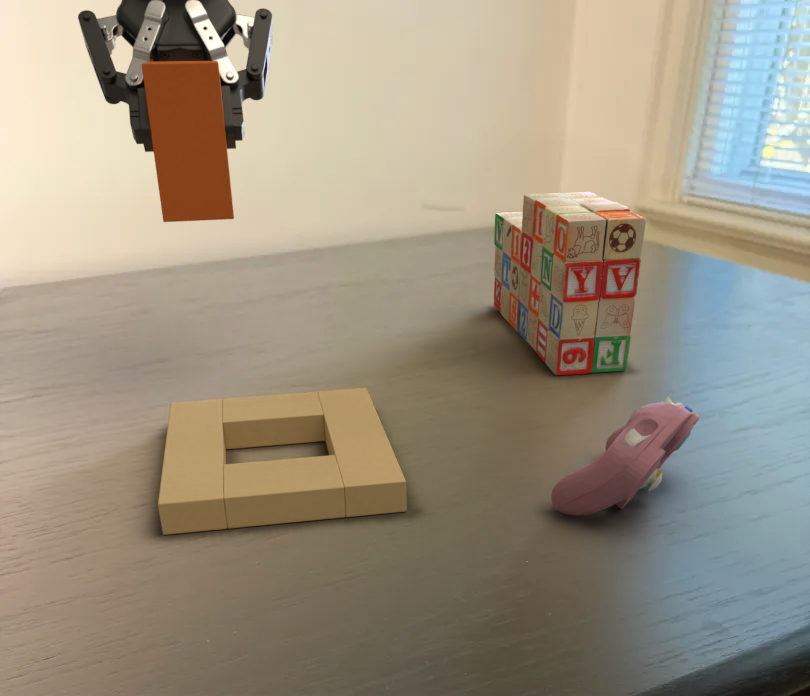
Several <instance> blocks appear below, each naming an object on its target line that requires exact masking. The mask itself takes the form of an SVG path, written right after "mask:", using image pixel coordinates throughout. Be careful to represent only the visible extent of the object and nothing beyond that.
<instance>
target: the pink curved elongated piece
mask: <svg viewBox="0 0 810 696" xmlns="http://www.w3.org/2000/svg"><path fill="white" fill-rule="evenodd" d="M699 419H700V415H698V414H697V413H696V412H694V410H693V409H692V408H691V407H689V406H688V405H686V406H685V405H684V404H683V402H676V403H674V402H673V401H672V400H671V398H670V396H669V395H668V396H667V397H666V398H665V400H664V401H659V402H655V403H648V404H646V405H644V406H641V407H639V408H638V409H635V411H633V412H632V413H631V415H630V416H629V418H628V420H627V421H626V424H625V425H623V426H620V427H619V428H617V429H616V430H614V431H613V432H612V433H611V435H610V436H608V438H607V440H606V443H605V451H604V452H603V453H602V454H601V455H599V456H598V457H596V458H595V459H594V460H592V461H591V462H589V463H587V464H586V465H584V466H582V467H580V468H578V469H576V470H574V471H572V472H571V473H568V474H566V475H564V476H563V477H561V478H560V479H559V480H558V481H557V482H556V483H555V484H554V486H553V488H552V490H551V494H550V497H551V498H550V499H551V503H552V505H553V507H554V509H555V510H556V511H558V512H560V513H561V514H565V515H569V516H587V515H591V514H595V513H598V512H600V511H604V510H606V509H608V508H610V507H612V506H614V505H616V507H618V508H619V509H621V510H623V509H624V508H625V507H626V505H628V503H630V501H631V500H632V499H633V497H634V496H635V495H636V494H637V492H638V491H639V490H641V489H645V488H646V487H648V486H649V487H648V489H647V492H651V491H653V490H656V489H657V488H658V486H659V485H660V484H661V482H662V479H663V471H661V470H660V469H661V467H662V466H663V465H664V464H665V462H666V461H667V460H668V459H669V457H671V455H672V454H673V453H674V452H676V451H678V450H680V448H681V447H682V446H683V445H684V444H685V442H686V441H687V440H688V438H689V437H690V436H691V432H692V430H693V429H694V427H695V426H696V424H697V423H698V421H699Z"/></svg>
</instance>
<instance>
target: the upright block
mask: <svg viewBox="0 0 810 696" xmlns="http://www.w3.org/2000/svg"><path fill="white" fill-rule="evenodd" d="M142 72H143V79H144V86H145V93H146V100H147V108H148V115H149V122H150V129H151V136H152V144H153V151H154V152H153V157H154V166H155V171H156V172H155V173H156V178H157V179H156V180H157V186H158V193H159V194H158V195H159V200H160V208H161V216H162V221H163V223H175V222H197V221H198V222H199V221H220V220H221V221H222V220H223V221H224V220H235V215H234V204H233V194H232V184H231V174H230V164H229V155H228V154H229V153H228V149H227V143H226V133H225V123H224V114H223V104H222V94H221V84H220V74H219V64H218V61H159V62H145V63H143V64H142Z"/></svg>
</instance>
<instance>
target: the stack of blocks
mask: <svg viewBox="0 0 810 696" xmlns="http://www.w3.org/2000/svg"><path fill="white" fill-rule="evenodd" d="M522 200H523V202H522V211H510V212H507V211H506V212H495V215H494V237H493V238H494V239H493V243H494V246H495V247H494V248H495V249H494V268H493V269H494V271H493V273H494V274H493V275H494V283H493V284H494V287H493V306H494V308H495V309H496V310H498V312H499V313H500V315H501V316H502V317H503V319H505V321H506V322H508V323H509V325H510V326H511V327H512V328H513V330H515V332H516V333H518V334H519V335H520V336H521V338H522V339H523V340H524V341H525V342H526V343H527V344H528V345H529V346H530V347H531V348H532V349H533V350H534V351H535V353H536V355H537V356H538V357H539V358H540V359H541V360H542V362H544V363H545V365H546V366H547V368H549V370H550V371H551V372H552V373H553V374H554V375H555V376H569V375H570V376H571V375H582V374H591V373H593V374H595V373H610V372H625V371H626V370H628V369H627V368H628V361H629V355H630V347H631V340H632V335H631V331H632V325H633V319H634V311H635V302H636V297H637V294H638V288H639V287H638V286H639V280H640V271H641V264H642V263H641V262H642V260H641V257H642V252H643V245H644V237H645V231H646V223H647V218H646V217H644V216H642V215H640V214H638V213H635V212H633V211H631V208H630V207H628V206H626V205H624V204H622V203H619V202H617V201H612V200H610V199H607V198H605V197H602V196H600V195H598V194H595V193H593V192H592V191H574V192H558V193H557V192H554V193H531V194H524V195H523V199H522Z"/></svg>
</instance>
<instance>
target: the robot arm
mask: <svg viewBox="0 0 810 696" xmlns="http://www.w3.org/2000/svg"><path fill="white" fill-rule="evenodd" d="M77 20H78V23H79V26H80V27H79V28H80V30H81V34H82V37H83V38H82V39H83V41H84V46H85V48H86V51H87V54H88V56H89V60H90V62H91V64H92V67H93V70H94V73H95V75H96V79H97V81H98V85H99V86H100V89H101V92H102V94H103V97H104V100H105V102H107V103H108V104H109V105H117V104H120V103H121V102H122V103H125V104H127V105H128V113H129V125H130V129H131V133H132V137H133V140H134V142H135V143H136V145H143V148H144V153H154V151H153V144H152V136H151V129H150V122H149V115H148V108H147V100H146V93H145V86H144V79H143V72H142V64H143V63H145V62H159V61H218V64H219V74H220V84H221V94H222V104H223V114H224V123H225V133H226V143H227V150H236V149H237V143H236V142H237V141H238V142H239V141H243V140H244V138H245V122H244V113H243V111H244V110H243V102H244V101H246V100H248V99H251V100H253V101H260V100H263V98H264V97H265V92H266V85H267V80H268V73H269V68H270V61H271V57H272V56H271V55H272V49H273V42H274V41H273V39H274V38H273V14H272V11H270V9H267V8H263V7H261V8H259V9H257V10H256V11H255V13H254V16H250V15H245V14H239V13H237V11H236V9H235V7H234V6H233V5H232V4H231V2H230V1H229V0H121V2H120V4H119V5H118V7H117V9H116V13H115V14H113V15H109V16H104V17H99V18H97V15H96V14H95V12H93V11H92V10H90V9H89V10H87V9H85V10H81V11H80V12H79V13H78V15H77ZM237 35H239V36H240V37H241V38H242V41H243V42H242V44H243V45H244V47H245V48H247V49H248V50H247V51H248V54H247V60H246V65H245V68H244V69H241V70H238V71H237V70H236V68H235V66H234V64H233V62H232V61H231V59H230V57H229V55H228V52H227V47H228V46H229V45H230V43H232V41H233V40H234V39H235V37H236V36H237ZM119 37H122V38H123V39H124V40H125V41H126V42H127V43H128V45H130V46H131V47H132V58H131V61H130V62H129V65H128V68H127V71H126V73H124V72H121V71H117V70H116V67H115V64H114V61H113V59H112V55H113V50H115V48H116V45H117V44H116V41H117V38H119Z"/></svg>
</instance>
